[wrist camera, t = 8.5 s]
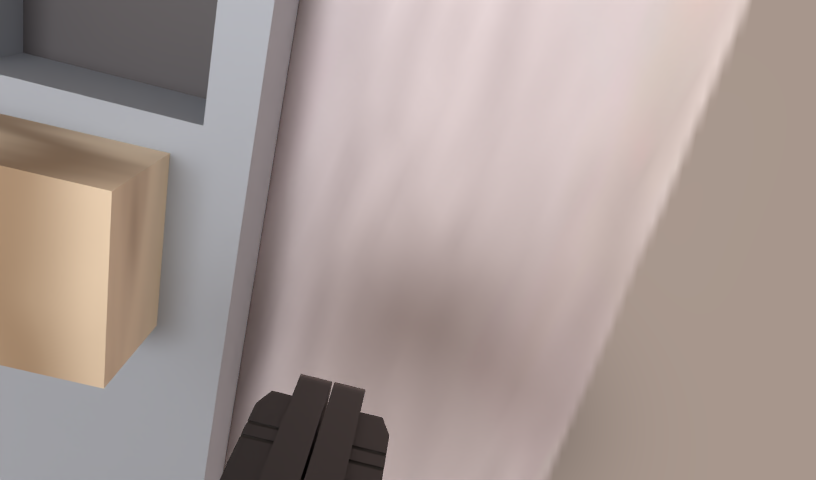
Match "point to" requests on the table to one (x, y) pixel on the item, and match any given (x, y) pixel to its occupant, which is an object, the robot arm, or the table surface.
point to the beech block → (77, 250)
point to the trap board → (184, 218)
